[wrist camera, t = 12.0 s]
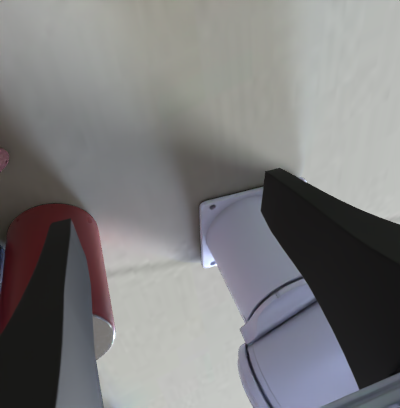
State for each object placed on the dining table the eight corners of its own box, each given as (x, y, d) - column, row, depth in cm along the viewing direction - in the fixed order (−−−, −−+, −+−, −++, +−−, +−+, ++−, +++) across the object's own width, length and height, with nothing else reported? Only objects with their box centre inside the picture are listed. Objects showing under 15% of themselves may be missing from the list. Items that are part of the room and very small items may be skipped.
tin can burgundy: (87, 194, 23) (103, 299, 17) (105, 252, 27) (124, 354, 21) (-9, 215, 22) (-29, 339, 16) (25, 273, 26) (20, 390, 20)
